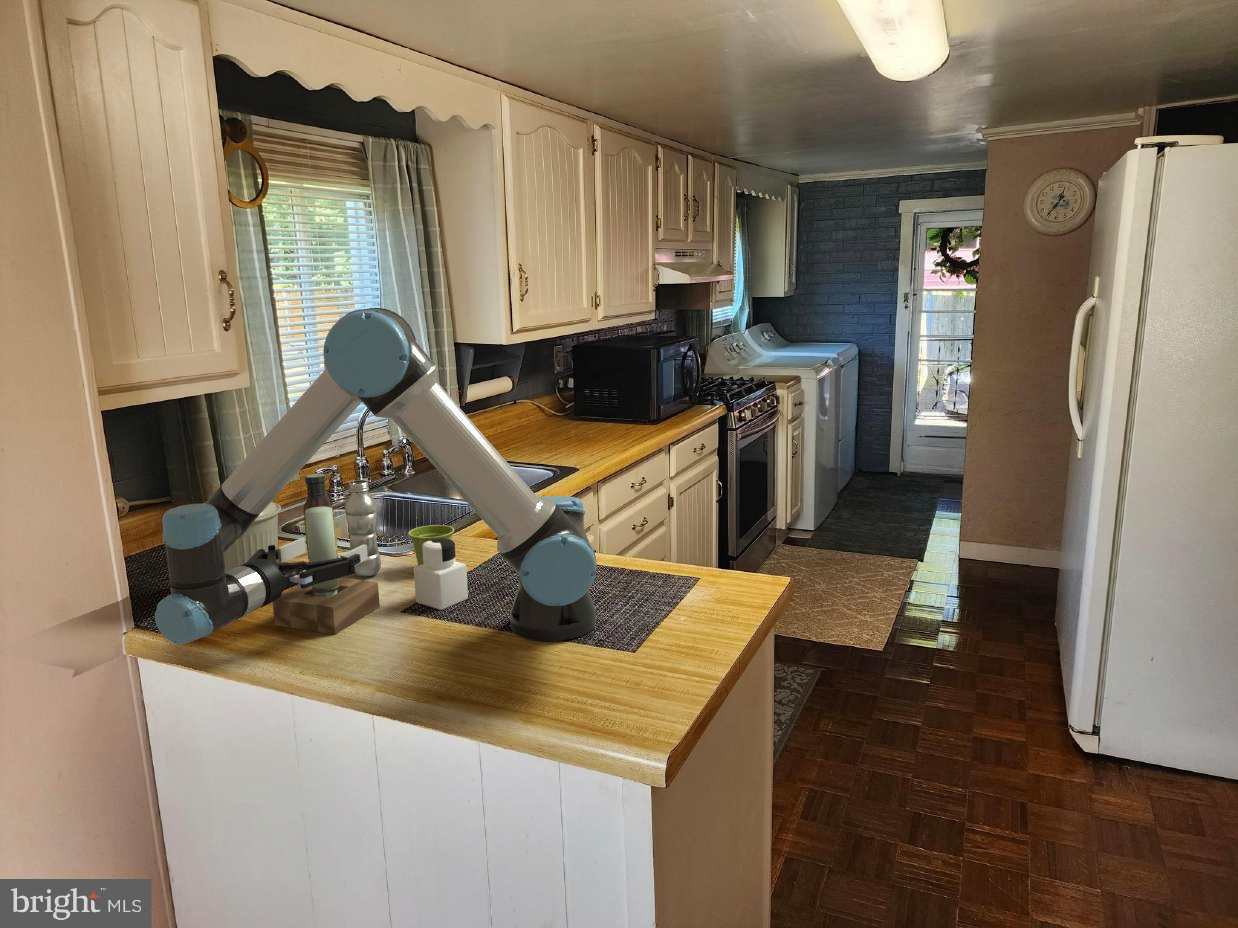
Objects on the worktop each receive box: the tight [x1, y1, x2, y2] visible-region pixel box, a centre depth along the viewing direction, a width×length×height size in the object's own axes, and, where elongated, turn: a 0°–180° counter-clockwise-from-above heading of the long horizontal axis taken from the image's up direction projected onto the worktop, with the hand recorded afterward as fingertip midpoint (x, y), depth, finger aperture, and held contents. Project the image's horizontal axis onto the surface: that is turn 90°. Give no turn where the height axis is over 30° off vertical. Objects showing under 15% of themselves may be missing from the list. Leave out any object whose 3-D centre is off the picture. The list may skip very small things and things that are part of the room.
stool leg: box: [305, 507, 339, 598], centre depth 153 cm, size 5×5×20 cm
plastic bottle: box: [344, 479, 382, 578], centre depth 175 cm, size 6×7×20 cm
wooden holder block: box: [271, 577, 381, 635], centre depth 155 cm, size 13×13×5 cm
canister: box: [202, 500, 282, 572], centre depth 166 cm, size 18×18×21 cm
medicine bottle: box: [413, 538, 469, 611], centre depth 161 cm, size 7×7×12 cm
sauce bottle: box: [302, 473, 339, 563], centre depth 182 cm, size 6×6×20 cm
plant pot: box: [407, 524, 455, 566], centre depth 178 cm, size 9×9×9 cm
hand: (334, 548), depth 156 cm, fingers open, 13 cm apart
